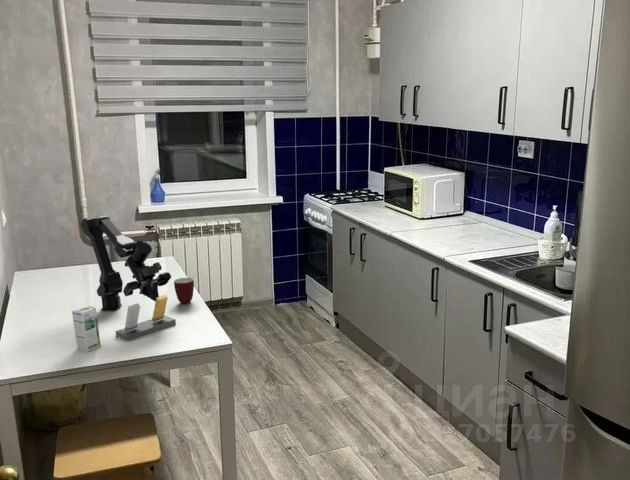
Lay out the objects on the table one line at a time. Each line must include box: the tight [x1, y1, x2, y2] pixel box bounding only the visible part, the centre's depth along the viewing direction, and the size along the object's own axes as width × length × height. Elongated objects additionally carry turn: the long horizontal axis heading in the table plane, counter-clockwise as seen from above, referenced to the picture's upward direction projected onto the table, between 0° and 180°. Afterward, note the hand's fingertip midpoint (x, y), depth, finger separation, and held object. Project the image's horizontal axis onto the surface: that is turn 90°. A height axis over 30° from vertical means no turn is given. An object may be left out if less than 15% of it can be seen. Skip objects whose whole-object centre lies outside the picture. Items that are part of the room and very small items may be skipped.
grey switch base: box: [115, 314, 177, 342], centre depth 228 cm, size 21×8×2 cm, turn 140°
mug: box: [173, 277, 195, 305], centre depth 255 cm, size 10×8×10 cm
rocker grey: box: [124, 303, 141, 331], centre depth 221 cm, size 2×4×11 cm, turn 140°
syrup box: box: [71, 305, 102, 352], centre depth 212 cm, size 6×6×14 cm
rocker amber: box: [151, 294, 169, 322], centre depth 229 cm, size 2×4×11 cm, turn 140°
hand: (158, 301), depth 229 cm, fingers closed
